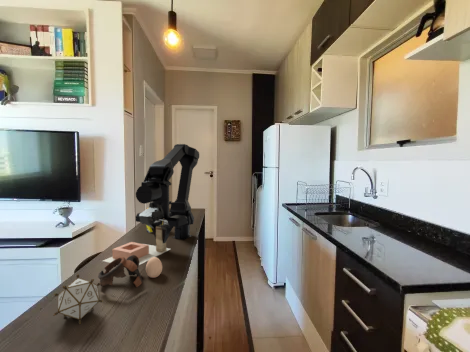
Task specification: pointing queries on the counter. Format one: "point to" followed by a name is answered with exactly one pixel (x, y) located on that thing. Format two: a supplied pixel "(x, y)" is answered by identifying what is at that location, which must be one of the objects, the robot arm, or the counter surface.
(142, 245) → the pink square ring
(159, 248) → the dowel
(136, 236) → the counter surface
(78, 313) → the game die
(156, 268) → the egg
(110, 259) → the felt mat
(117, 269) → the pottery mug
